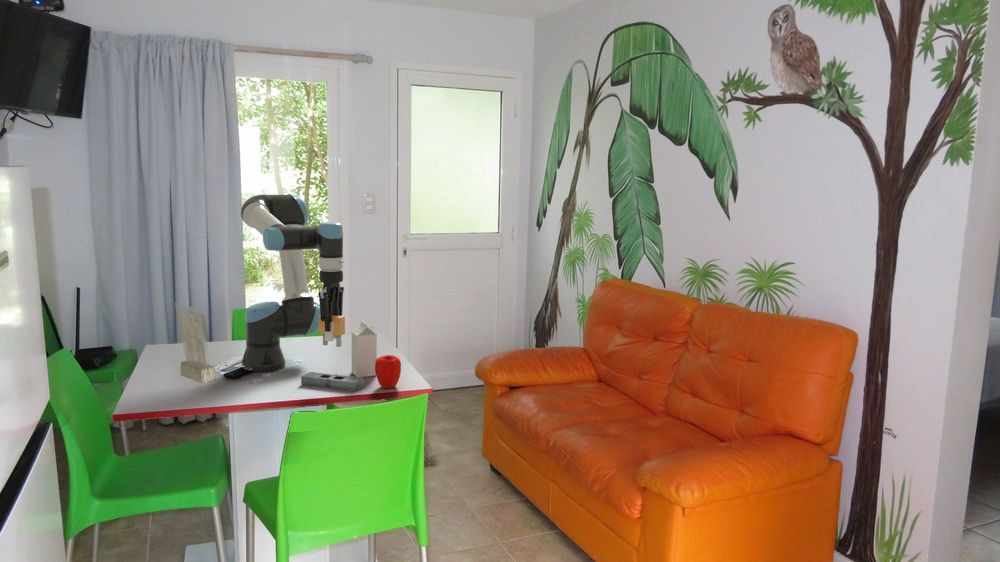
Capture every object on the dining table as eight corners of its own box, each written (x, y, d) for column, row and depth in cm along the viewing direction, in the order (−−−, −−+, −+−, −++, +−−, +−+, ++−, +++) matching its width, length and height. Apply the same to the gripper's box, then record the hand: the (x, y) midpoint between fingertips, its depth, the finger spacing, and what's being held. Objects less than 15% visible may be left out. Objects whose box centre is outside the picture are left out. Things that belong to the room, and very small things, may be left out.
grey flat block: (301, 385, 239) (301, 376, 239) (310, 380, 245) (310, 371, 245) (355, 391, 235) (355, 382, 234) (363, 386, 240) (363, 377, 240)
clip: (319, 345, 237) (318, 316, 236) (323, 343, 240) (323, 314, 238) (340, 347, 235) (340, 317, 234) (345, 345, 238) (344, 316, 236)
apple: (377, 382, 245) (377, 352, 243) (402, 383, 244) (403, 353, 243) (372, 390, 236) (372, 358, 234) (398, 391, 236) (398, 359, 234)
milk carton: (357, 378, 249) (357, 325, 247) (351, 372, 256) (351, 321, 253) (376, 375, 253) (376, 323, 250) (370, 370, 259) (370, 319, 256)
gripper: (329, 273, 225) (330, 345, 229) (352, 267, 240) (353, 335, 244) (308, 272, 227) (309, 343, 230) (332, 266, 242) (333, 333, 246)
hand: (331, 339), depth 237 cm, fingers closed on clip, 3 cm apart
